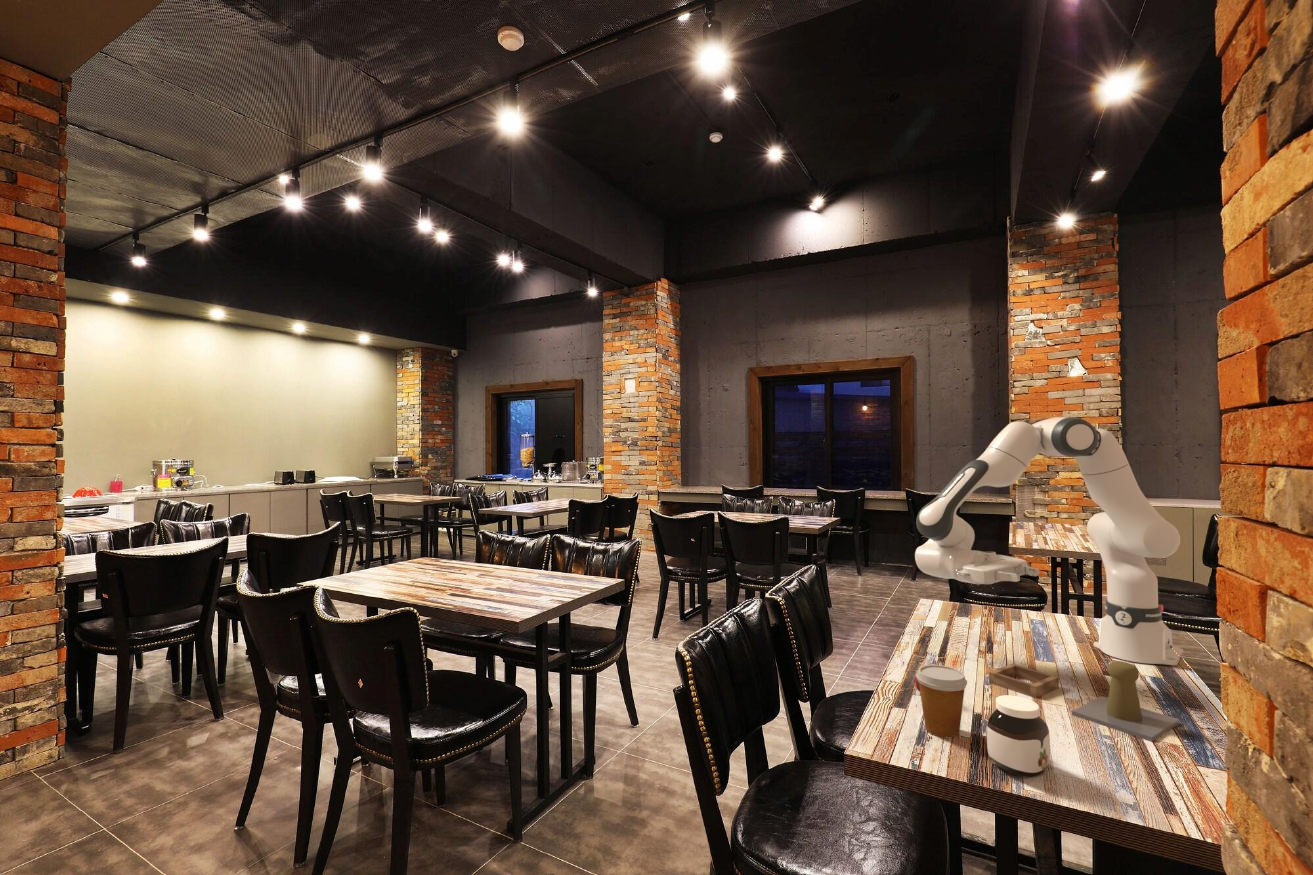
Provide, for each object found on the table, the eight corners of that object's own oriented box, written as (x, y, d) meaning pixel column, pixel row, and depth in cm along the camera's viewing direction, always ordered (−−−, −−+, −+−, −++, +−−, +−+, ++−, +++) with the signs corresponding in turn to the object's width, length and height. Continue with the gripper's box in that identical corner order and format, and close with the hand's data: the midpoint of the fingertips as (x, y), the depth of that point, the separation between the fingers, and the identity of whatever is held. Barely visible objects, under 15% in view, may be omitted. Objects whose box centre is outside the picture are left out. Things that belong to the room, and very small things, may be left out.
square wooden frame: (1012, 673, 153) (1012, 663, 153) (1058, 687, 143) (1058, 677, 143) (989, 682, 147) (988, 672, 147) (1035, 697, 138) (1035, 687, 138)
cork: (1148, 722, 123) (1147, 669, 123) (1115, 720, 124) (1113, 667, 125) (1132, 710, 129) (1131, 659, 129) (1100, 707, 130) (1099, 657, 131)
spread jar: (1020, 784, 103) (1018, 716, 103) (963, 753, 113) (962, 692, 114) (1064, 768, 108) (1063, 704, 108) (1006, 740, 118) (1004, 681, 118)
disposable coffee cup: (966, 746, 116) (964, 684, 116) (913, 734, 121) (912, 675, 121) (970, 727, 124) (969, 669, 124) (920, 716, 129) (919, 660, 129)
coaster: (1101, 699, 136) (1101, 695, 136) (1179, 723, 125) (1179, 719, 125) (1072, 714, 129) (1072, 710, 129) (1151, 741, 117) (1151, 737, 117)
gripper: (950, 560, 155) (1005, 568, 143) (993, 550, 166) (1047, 557, 154) (952, 584, 155) (1006, 594, 143) (994, 573, 166) (1048, 581, 154)
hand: (1028, 575), depth 149 cm, fingers open, 8 cm apart
